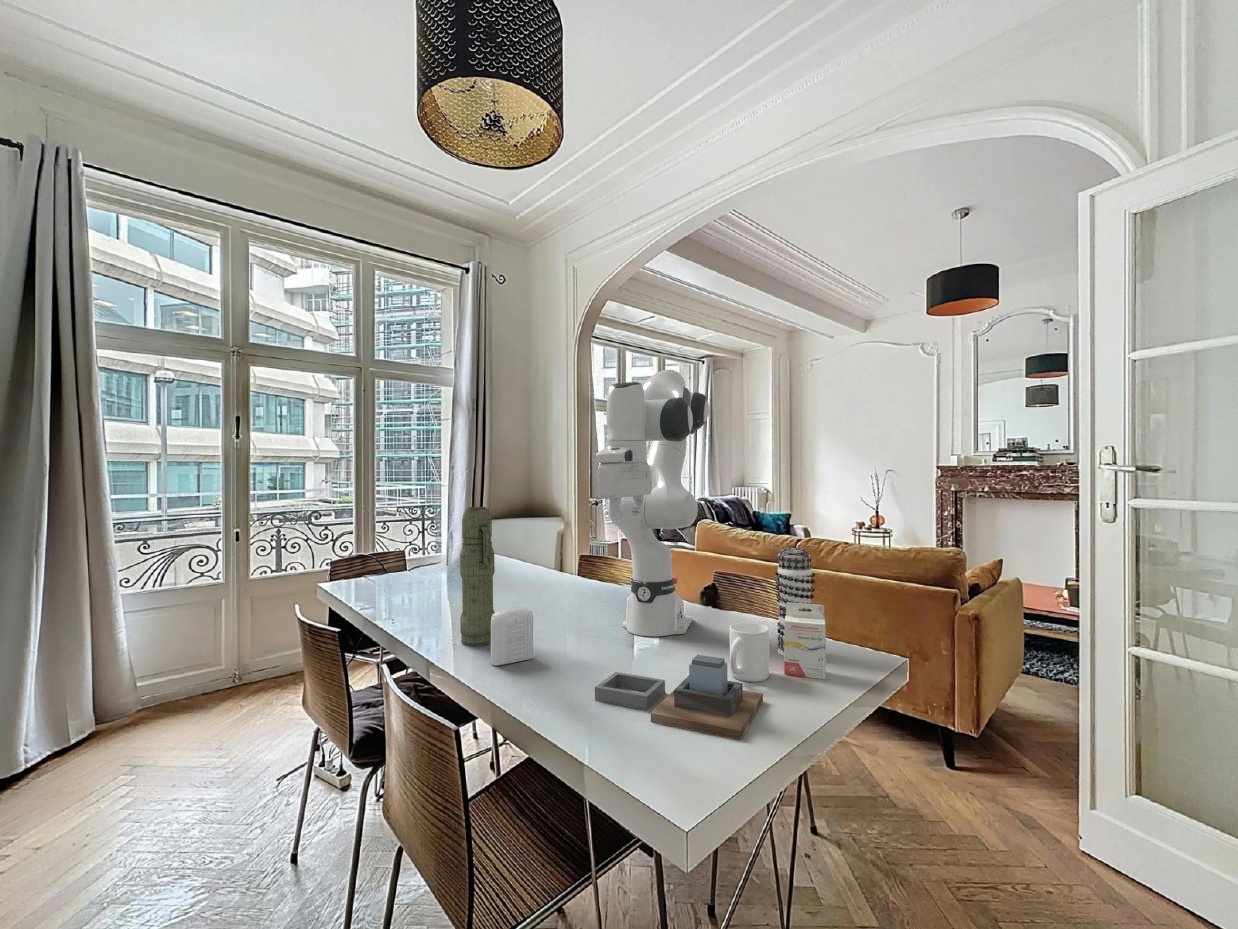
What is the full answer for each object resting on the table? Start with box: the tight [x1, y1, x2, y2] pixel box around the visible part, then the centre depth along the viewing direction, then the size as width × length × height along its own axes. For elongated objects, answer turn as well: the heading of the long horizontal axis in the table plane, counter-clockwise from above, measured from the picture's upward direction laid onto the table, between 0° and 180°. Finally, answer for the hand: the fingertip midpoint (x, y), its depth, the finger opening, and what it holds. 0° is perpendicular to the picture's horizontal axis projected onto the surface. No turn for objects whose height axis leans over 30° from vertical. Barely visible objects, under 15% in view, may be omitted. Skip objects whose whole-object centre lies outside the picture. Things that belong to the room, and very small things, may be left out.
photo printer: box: [490, 606, 534, 666], centre depth 133 cm, size 10×4×12 cm, turn 123°
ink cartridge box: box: [783, 602, 827, 680], centre depth 123 cm, size 9×5×15 cm, turn 71°
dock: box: [650, 675, 764, 741], centre depth 104 cm, size 17×16×4 cm
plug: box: [688, 654, 729, 696], centre depth 104 cm, size 4×6×8 cm, turn 63°
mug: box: [729, 622, 771, 683], centre depth 120 cm, size 12×8×10 cm
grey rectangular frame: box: [594, 671, 666, 711], centre depth 112 cm, size 9×11×2 cm
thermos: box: [459, 506, 496, 647], centre depth 149 cm, size 9×12×35 cm
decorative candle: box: [775, 547, 816, 657], centre depth 136 cm, size 9×9×25 cm
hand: (627, 517), depth 125 cm, fingers open, 8 cm apart
